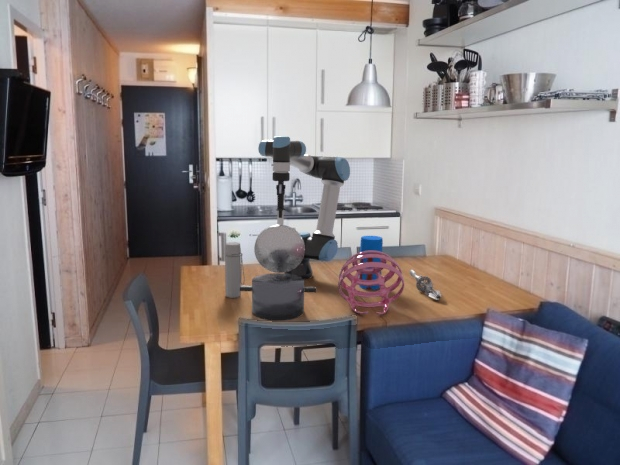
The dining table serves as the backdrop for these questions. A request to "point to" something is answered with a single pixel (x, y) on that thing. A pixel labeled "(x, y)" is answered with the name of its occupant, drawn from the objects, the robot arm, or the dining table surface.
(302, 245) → the lid
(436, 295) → the spaceship
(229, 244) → the water bottle
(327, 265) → the dining table surface
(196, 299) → the dining table surface
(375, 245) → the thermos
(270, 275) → the pot
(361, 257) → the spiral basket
